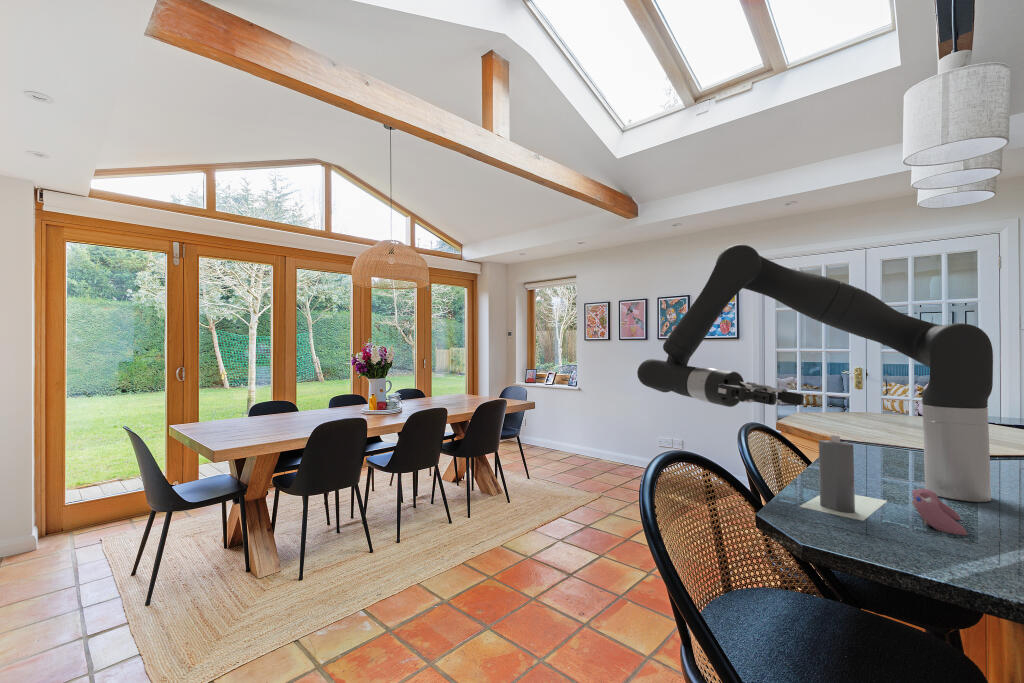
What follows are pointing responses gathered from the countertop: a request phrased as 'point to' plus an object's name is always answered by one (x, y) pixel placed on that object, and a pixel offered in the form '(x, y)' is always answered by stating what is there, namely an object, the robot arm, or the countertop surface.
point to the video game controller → (936, 512)
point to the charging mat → (862, 507)
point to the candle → (836, 475)
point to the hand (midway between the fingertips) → (789, 399)
